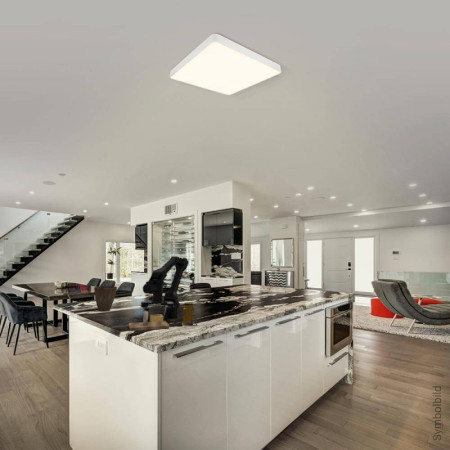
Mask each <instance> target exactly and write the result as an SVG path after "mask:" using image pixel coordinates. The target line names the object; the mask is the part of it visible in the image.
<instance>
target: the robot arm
mask: <svg viewBox="0 0 450 450" xmlns="http://www.w3.org/2000/svg"><path fill="white" fill-rule="evenodd" d="M189 263H190V262H189V260H188V258H183V257H178V256H171V257H170V259H169V260H167V262H165V263H164V264H163V266H161V267H160V268H157V269H155V270H154V271H152V273H151V276H150V277H149V279H148V281H145V284H144V285H143V286H142V291H143V293H144V294H146V295H148V294H150V295H148V301H147V300H146V301H145V300H144V301H143V300H142V301H140V304H139V305H140V308H141V309H143V310H144V311H148V320H149V321H150V308H149V307H157V306H159V307H160V306H161V307H162V306H163V307H164V312H163V320H165V319H178V309H179V308H180V306H181V303H180V302H179V296H178V291H179V286H180V284H181V280H182V277H183V273H184V272H185V271H186V270H187V269H188V266H189ZM174 267H175V272H174V276H173V278H172V281H171V285H170V288H169V290H168V291H165V293H164V292H163V291H164V285H166V282H165V279H166V278H167V276H168V273H169V272H170V270H171V269H173V268H174ZM163 293H164V296H163ZM151 294H152V295H151Z"/></svg>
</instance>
